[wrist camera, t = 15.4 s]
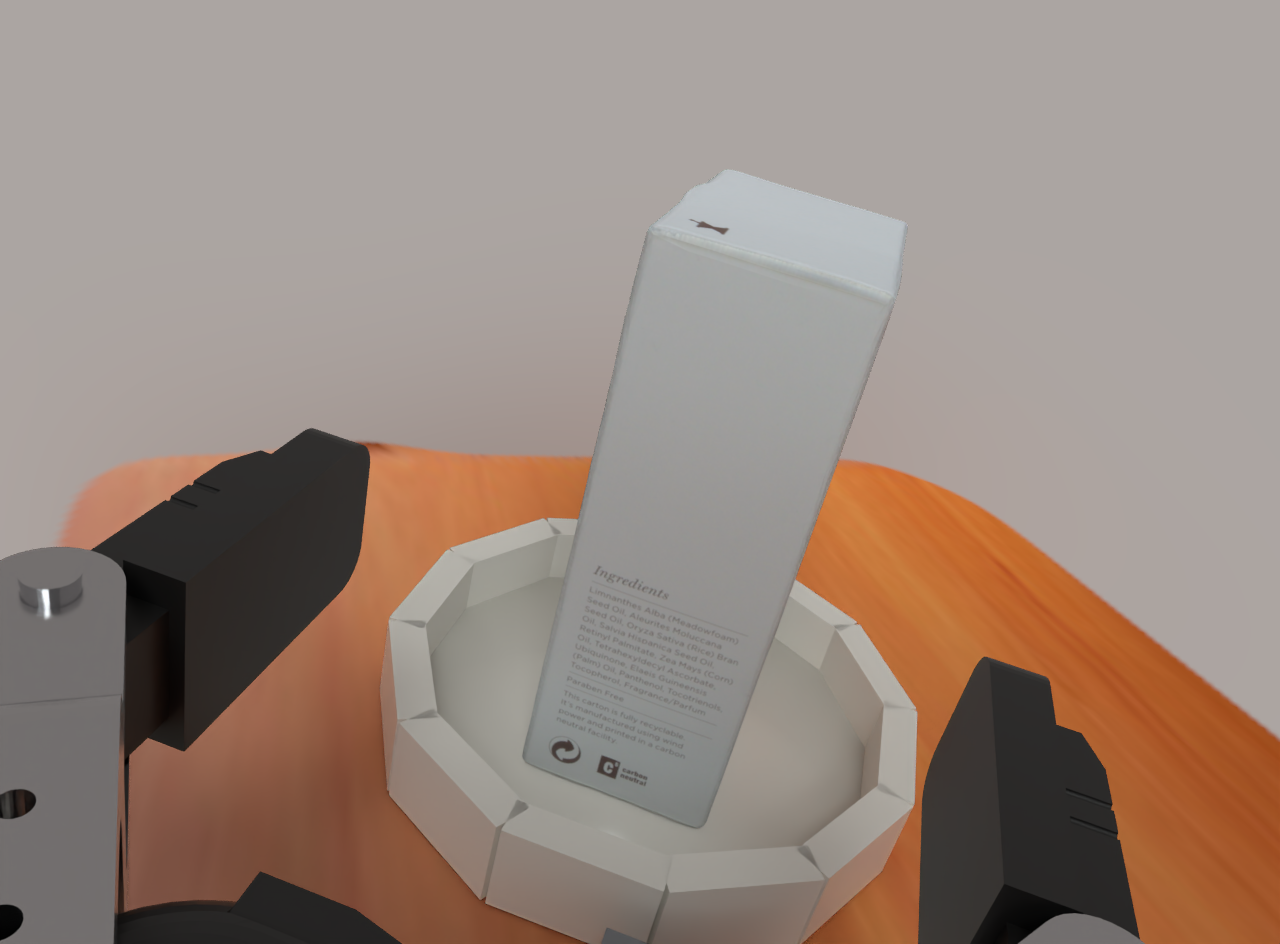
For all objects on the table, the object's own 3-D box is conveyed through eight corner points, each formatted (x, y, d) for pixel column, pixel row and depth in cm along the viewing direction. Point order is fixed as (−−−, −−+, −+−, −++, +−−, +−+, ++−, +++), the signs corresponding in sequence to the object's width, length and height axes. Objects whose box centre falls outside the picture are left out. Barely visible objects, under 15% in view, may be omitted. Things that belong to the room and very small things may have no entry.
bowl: (895, 666, 29) (920, 610, 28) (871, 1053, 19) (909, 984, 18) (500, 532, 31) (511, 474, 30) (273, 821, 20) (279, 746, 19)
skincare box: (706, 840, 21) (902, 298, 16) (515, 767, 22) (638, 219, 16) (756, 669, 27) (916, 218, 21) (601, 614, 27) (716, 160, 22)
